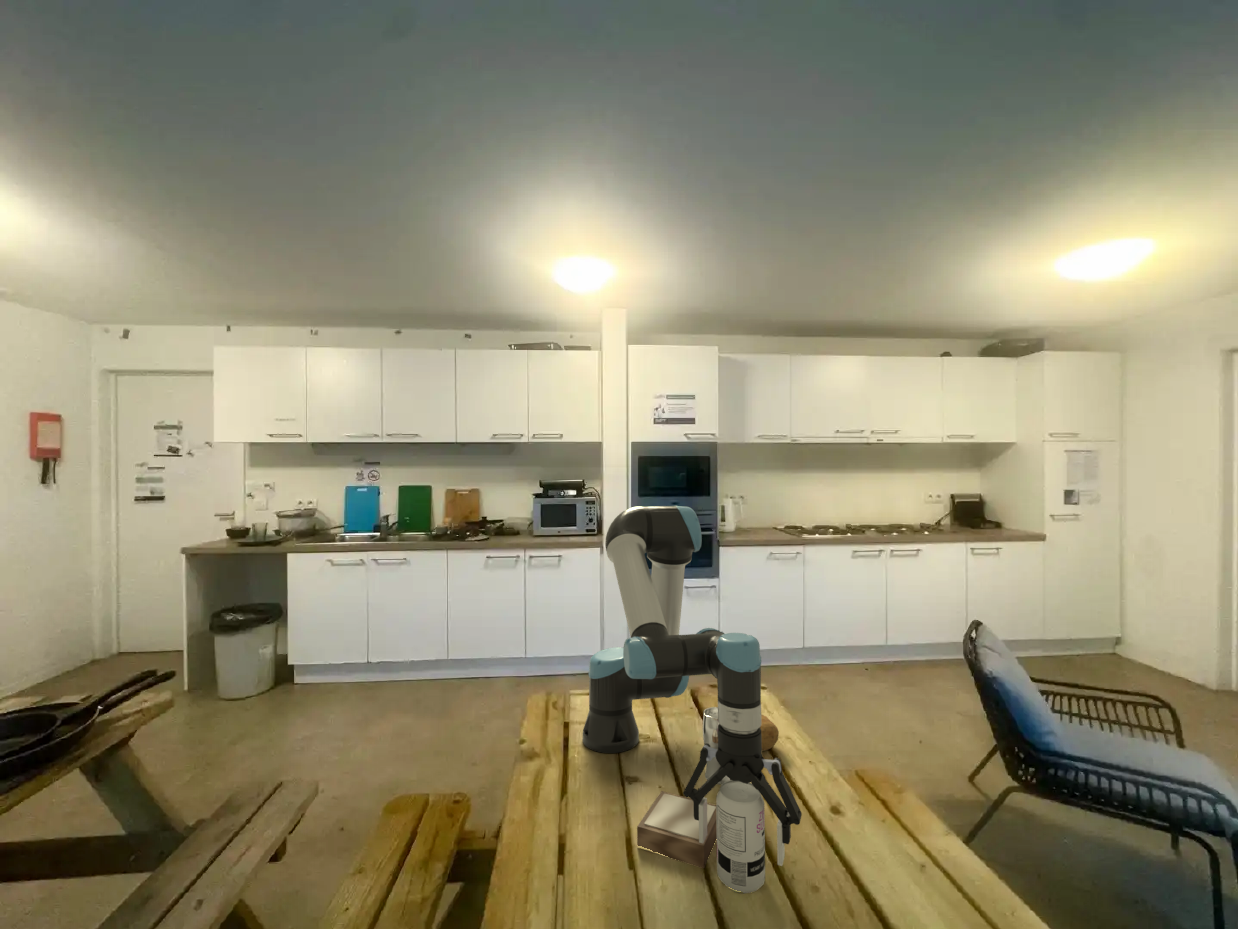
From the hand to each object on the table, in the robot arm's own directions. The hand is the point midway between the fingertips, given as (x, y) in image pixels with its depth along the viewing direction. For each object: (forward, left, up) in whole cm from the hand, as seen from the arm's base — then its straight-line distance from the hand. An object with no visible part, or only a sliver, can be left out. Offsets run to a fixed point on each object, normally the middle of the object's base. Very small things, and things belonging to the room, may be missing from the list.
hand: (741, 849), depth 94 cm
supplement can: (0, 0, -5) cm, 5 cm away
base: (-13, +6, -5) cm, 15 cm away
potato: (-7, +49, -5) cm, 50 cm away
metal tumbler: (-12, +30, -5) cm, 33 cm away
